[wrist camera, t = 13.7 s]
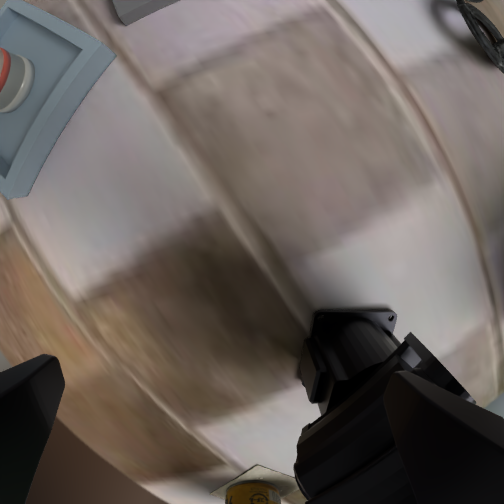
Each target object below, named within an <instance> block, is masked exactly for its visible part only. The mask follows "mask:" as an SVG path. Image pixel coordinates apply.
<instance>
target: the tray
mask: <svg viewBox="0 0 504 504" xmlns="http://www.w3.org/2000/svg"><path fill="white" fill-rule="evenodd" d="M0 47H1V48H3V49H5V50H7V51H8V52H10V53H13V54H15V55H21V56H23V57H25V58H27V59H29V60H31V61H32V63H33V64H34V67H35V78H34V83H33V86H32V89H31V91H30V93H29V95H28V97H27V98H26V100H25V101H24V102H23V104H22V105H21V106H20V107H19V108H17V109H16V110H15V111H13V112H10V113H2V112H0V192H1V193H2V194H3V195H4V196H5V198H6V199H7V200H8V199H13V198H19V197H25V196H28V194H29V192H30V190H31V188H32V186H33V184H34V182H35V180H36V178H37V176H38V174H39V172H40V170H41V168H42V166H43V164H44V162H45V160H46V158H47V157H48V155H49V153H50V151H51V149H52V148H53V146H54V144H55V143H56V141H57V139H58V137H59V136H60V134H61V132H62V131H63V129H64V128H65V126H66V124H67V123H68V121H69V120H70V118H71V117H72V115H73V114H74V112H75V111H76V109H77V108H78V106H79V105H80V103H81V102H82V100H83V99H84V97H85V96H86V95H87V93H88V92H89V90H90V89H91V88H92V86H93V85H94V84H95V82H96V81H97V80H98V78H99V77H100V76H101V75H102V73H103V72H104V71H105V69H106V68H107V67H108V66H109V64H110V63H111V62H112V61H113V60H114V58H115V57H116V56H117V55H116V54H115V53H114V52H112V51H111V50H110V49H109V48H108V47H107V46H106V45H105V44H103V43H102V42H100V41H99V40H97V39H95V38H94V37H92V36H90V35H88V34H87V33H85V32H83V31H81V30H79V29H78V28H76V27H74V26H72V25H70V24H68V23H67V22H65V21H63V20H61V19H59V18H57V17H55V16H53V15H51V14H49V13H47V12H45V11H43V10H41V9H39V8H37V7H35V6H33V5H31V4H29V3H27V2H25V1H22V0H7V1H6V3H5V4H4V5H3V7H2V8H1V9H0Z"/></svg>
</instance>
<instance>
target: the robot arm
mask: <svg viewBox="0 0 504 504" xmlns="http://www.w3.org/2000/svg"><path fill="white" fill-rule="evenodd" d="M320 315H323V318H322V319H318V317H319V316H320ZM391 315H392V317H391V318H390V319H388V318H389V317H390V316H391ZM396 320H397V314H396V313H395V312H394V311H393V310H324V309H320V310H317V311H315V313H314V314H313V318H312V324H311V330H310V336H309V337H307V338H306V339H305V340H304V346H303V352H302V357H301V363H300V371H301V374H302V378H301V382H302V385H303V386H304V387H305V388H306V392H307V395H308V399H309V401H310V402H311V403H312V404H314V403H318V406H319V409H320V413H321V416H320V417H319V418H318V419H317V420H315V421H314V422H313V423H311V424H310V423H309V424H308V425H306V426H305V427H304V428H302V433H301V436H300V437H299V440H298V443H297V459H296V463H294V473H295V480H296V482H297V485H298V487H299V489H300V490H301V492H302V494H303V495H304V496H305V497H306V499H307V501H306V502H305V504H504V419H503V417H501V416H498V415H496V414H494V413H492V412H490V411H488V410H486V409H484V408H482V407H479V406H477V405H475V404H476V401H475V400H474V399H473V398H472V397H471V396H470V394H469V393H468V392H467V391H466V390H465V389H464V388H463V387H462V385H461V384H460V383H459V382H458V381H457V380H456V379H455V378H454V377H453V376H452V374H451V373H450V372H449V371H448V370H447V369H446V368H445V367H444V366H443V365H442V364H441V363H440V362H439V360H438V359H437V358H436V357H435V356H434V355H433V354H432V353H431V352H430V351H429V350H428V349H427V348H426V347H425V346H424V345H423V344H422V343H421V342H420V341H419V340H418V339H417V338H416V337H415V336H414V335H413V334H412V333H411V332H410V333H409V334H408V335H407V336H406V337H405V338H404V339H405V341H404V342H403V343H402V344H401V343H400V342H399V341H398V340H397V339H396V337H395V336H394V335H393V331H394V327H395V324H396ZM64 388H65V380H64V377H63V373H62V370H61V367H60V363H59V360H58V358H57V357H55V356H52V355H48V354H42V355H39V356H37V357H35V358H33V359H30V360H28V361H26V362H23V363H21V364H19V365H16V366H14V367H12V368H9V369H7V370H5V371H3V372H0V504H25V502H26V499H27V496H28V493H29V489H30V487H31V484H32V481H33V477H34V475H35V472H36V469H37V467H38V464H39V461H40V458H41V456H42V453H43V451H44V448H45V445H46V443H47V441H48V438H49V435H50V433H51V430H52V427H53V424H54V420H55V417H56V413H57V410H58V407H59V404H60V400H61V397H62V394H63V391H64Z"/></svg>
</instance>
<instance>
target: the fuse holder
mask: <svg viewBox="0 0 504 504" xmlns="http://www.w3.org/2000/svg"><path fill="white" fill-rule="evenodd" d="M112 1H113V4H114V6H115V9H116V11H117V14H118V16H119V18H120V19H121V20H122V22H123V23H124V24H125V25H126V26H127V25H129V24H131V23H133V22H135V21H137V20H139V19H141V18H143V17H145V16H147V15H149V14H151V13H153V12H155V11H157V10H159V9H161V8H164V7H166V6H168V5H170V4H173V3H175V2H177V1H180V0H112Z"/></svg>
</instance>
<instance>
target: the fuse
mask: <svg viewBox="0 0 504 504" xmlns="http://www.w3.org/2000/svg"><path fill="white" fill-rule="evenodd" d="M34 78H35V67H34V64H33V63H32V61H31V60H29V59H27V58H25V57H23V56H21V55H15V54H13V53H10V52H8V51H7V50H5V49H3V48H1V47H0V112H2V113H10V112H13V111H15V110H16V109H17V108H19V107H20V106H21V105H22V104H23V102H24V101H25V100H26V98H27V97H28V95H29V93H30V91H31V89H32V86H33V83H34Z"/></svg>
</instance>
